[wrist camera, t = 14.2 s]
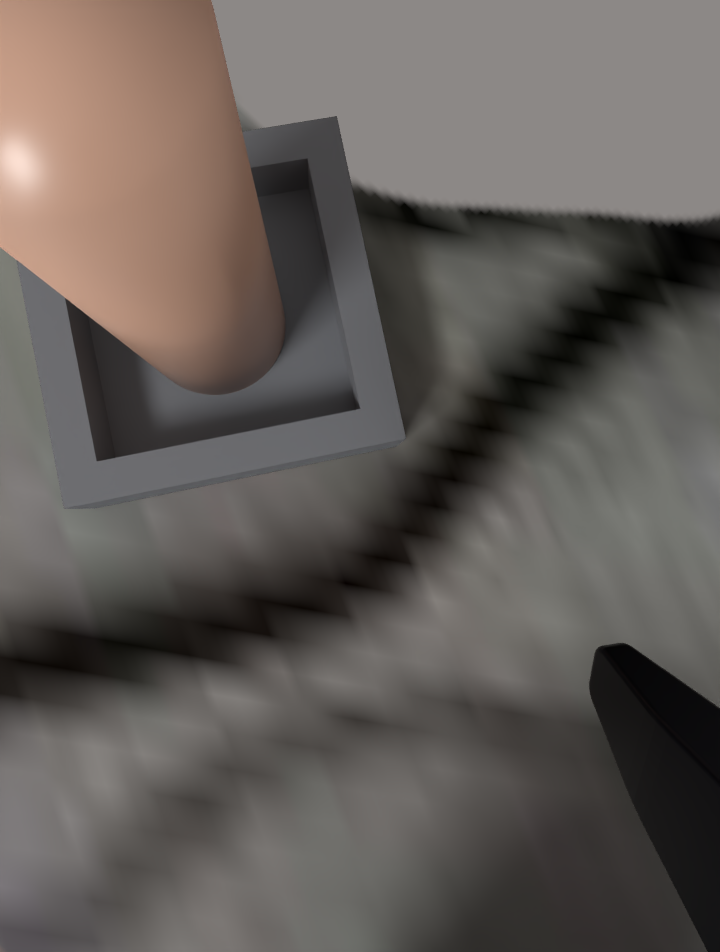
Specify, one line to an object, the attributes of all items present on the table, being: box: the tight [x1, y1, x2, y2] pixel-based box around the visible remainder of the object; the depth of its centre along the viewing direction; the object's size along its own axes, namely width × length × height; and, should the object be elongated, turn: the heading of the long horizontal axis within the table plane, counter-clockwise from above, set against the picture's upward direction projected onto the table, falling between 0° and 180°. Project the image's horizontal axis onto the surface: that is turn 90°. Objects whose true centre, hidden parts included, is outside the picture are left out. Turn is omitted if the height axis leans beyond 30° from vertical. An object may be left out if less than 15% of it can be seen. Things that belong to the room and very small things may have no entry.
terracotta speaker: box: [0, 0, 286, 395], centre depth 14 cm, size 5×5×12 cm
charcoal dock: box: [17, 116, 406, 509], centre depth 20 cm, size 11×11×3 cm
